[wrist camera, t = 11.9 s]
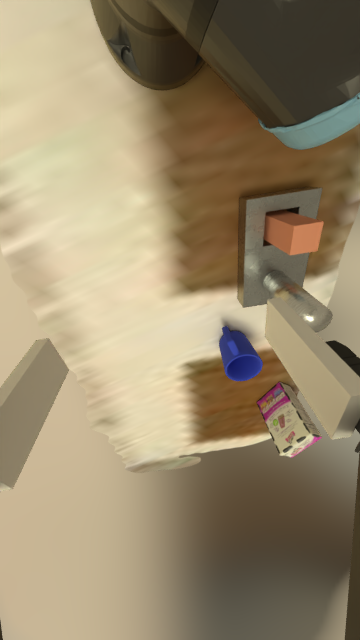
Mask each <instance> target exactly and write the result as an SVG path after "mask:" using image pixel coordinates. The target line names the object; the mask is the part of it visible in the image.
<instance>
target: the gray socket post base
mask: <svg viewBox="0 0 360 640" xmlns="http://www.w3.org/2000/svg"><path fill="white" fill-rule="evenodd" d="M321 192H322V188H318V187H303V188H297V189H291V190H285V191H279V192H273V193H266V194H260V195H254V196H248V197H242V198H239V234H238V298H237V299H238V300H239V302H240V304H241V305H242V307H243V308H244V307H250V306H257V305H263V304H267V301H268V299H273V298H279V297H281V298H282V299H283V300H284V301H285V302H286V303H287V304H288V305H289V306H290V307H291V308H292V309H293V310H294V311H295V312H296V313H297V314H298V315H299V316H300V317H301V318H302V319H303V320H304V321H305V322H306V323H307V324H308V325H309V326H310V327H311V328H312V329H313V330H314V331H315V332H319V331H321V330H323V329H324V328H326V327H327V326H328V324H329V323H330V322H331V320H332V312H331V311H330V310H329V309H328V308H327V307H325V306H324V305H323V304H322V303H320V302H319V301H318V300H317V299H315V298H314V297H313V296H312V295H310V294H309V293H308V292H307V291H305V290H304V289H303V288H302V287H303V282H304V277H305V272H306V267H307V262H308V257H309V252H308V253H302V254H295V255H288V254H287V253H285V252H284V251H282V250H280V249H279V248H277V247H275V246H274V245H272V244H271V243H269V242H267V241H266V240H263V238H264V225H265V213H266V212H269V211H276V210H282V209H287V211H288V212H292V213H295V214H299V215H302V216H306V217H309V218H313V219H316V217H317V212H318V207H319V202H320V197H321Z"/></svg>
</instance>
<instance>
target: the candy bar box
mask: <svg viewBox="0 0 360 640" xmlns="http://www.w3.org/2000/svg"><path fill="white" fill-rule="evenodd" d="M257 404H258V407H259V409H260V411H261V414H262V416H263V418H264V420H265V423H266V425H267V427H268V429H269V432H270V434H271V436H272V439H273V441H274V443H275V445H276V448H277V450H278V452H279V454H280V455H282V456H286V457H290V458H292V457H293V456H295V455H296V454H298V453H300V452H301V451H303V450H304V449H305V448H307V447H309V446H310V445H311V444H313V443H315V442H316V441H318V440H319V439H321V438H322V436H321V434H320V433H319V431H318V430H317V428H316V426H315V425H314V423H313V422H312V421H311V419H310V417H309V415H308V414H307V412H306V411H305V410H304V408H303V406H302V404H301V403H300V401H299V400H298V398H297V397H296V395H295V393H294V392H293V390H292V389H291V387H290V386H289V385H286V384H283V383H281V382H279V383H277V384H276V385H275V386H274V387H273V388H272V389H271V390H270V391H269V392H268V393H266V394H265V395H264V396H263V397H262V398H261V399H260V400H259V401H258V402H257Z"/></svg>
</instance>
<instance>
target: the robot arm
mask: <svg viewBox="0 0 360 640" xmlns="http://www.w3.org/2000/svg"><path fill="white" fill-rule="evenodd" d="M91 4H92V8H93V12H94V15H95V18H96V21H97V24H98V26H99V29H100V31H101V34H102V36H103V38H104V41H105V43H106V45H107V47H108V49H109V51H110V52H111V54H112V56H113V57H114V59H115V60H116V62H117V63H118V64H119V66H120V67H121V68H122V69H123V70H124V72H125V73H126V74H127V75H129V76H130V77H131V78H132V79H133V80H135V81H136V82H138V83H139V84H141V85H143V86H145V87H148V88H151V89H155V90H169V89H173V88H176V87H178V86H181V85H182V84H184V83H185V82H187V81H188V80H189V79H191V78H192V77H193V76H194V75H195V74H196V73H197V71H198V70H199V69H200V68H201V66H202V65H203V63H204V62H206V63H207V64H208V65H209V66H210V67H211V68H212V69H213V70H214V71H215V72H216V73H217V75H218V76H219V77H220V78H221V79H222V80H223V81H224V82H225V83H226V84H227V85H228V86H229V87H230V88H231V89H232V91H233V92H234V93H235V94H236V95H237V96H238V97H239V98H240V99H241V100H242V101H243V102H244V103H245V104H246V106H247V107H248V108H249V109H250V110H251V111H252V112H253V113H254V114H255V115H256V116H257V117H258V121H259V123H260V125H261V126H262V127H263V128H264V129H265V130H267V131H269V132H272V133H273V134H274V135H275V136H276V137H277V138H278V139H279V140H280V141H281V142H282V143H283V144H284V145H286V146H287V147H291V148H294V149H299V150H303V149H309V148H313V147H316V146H319V145H322V144H325V143H327V142H329V141H331V140H333V139H335V138H337V137H339V136H340V135H342V134H344V133H346V132H347V131H349V130H351V129H352V128H354V127H355V126H357V125H358V124H360V0H91ZM265 337H266V339H267V340H268V342H269V344H270V345H271V347H272V348H273V350H274V351H275V353H276V354H277V356H278V357H279V359H280V361H281V362H282V364H283V365H284V367H285V368H286V370H287V371H288V373H289V375H290V376H291V378H292V379H293V381H294V382H295V384H296V385H297V387H298V388H299V390H300V392H301V393H302V395H303V396H304V398H305V399H306V401H307V402H308V404H309V406H310V407H311V408H312V410H313V412H314V413H315V415H316V416H317V418H318V419H319V421H320V423H321V424H322V426H323V427H324V429H325V430H326V432H327V433H328V435H329V437H330V438H331V439H338V438H345V437H351V436H352V434H353V432H354V430H355V428H356V429H357V431H358V432H359V433H360V358H358V357H356V355H355V354H354V353H353V352H352V351H351V350H350V349H349V348H348V347H346V346H344V345H343V344H341V343H339V342H337V341H328V342H324V341H323V340H322V339H321V338H320V336H319V335H318V334H317V333H316V332H315V331H314V330H313V329H312V328H311V327H310V326H309V325H308V324H307V323H306V322H305V321H304V320H303V319H302V318H301V317H300V316H299V315H298V314H297V313H296V312H295V311H294V310H293V309H292V308H291V307H290V306H289V305H288V304H287V303H286V302H285V301H284V300H283V299H282V298H281V297H279V298H273V299H268V301H267V314H266V327H265ZM68 371H69V369H68V367H67V366H66V364H65V363H64V361H63V360H62V358H61V356H60V355H59V353H58V352H57V350H56V349H55V347H54V346H53V344H52V343H51V341H50V339H49V338H46V339H41V340H36V341H35V343H34V344H33V345H32V347H31V348H30V349H29V351H28V352H27V353H26V355H25V356H24V357H23V359H22V360H21V361H20V362H19V364H18V365H17V366H16V368H15V369H14V370H13V372H12V373H11V374H10V376H9V377H8V378H7V380H6V381H5V382H4V384H3V385H2V386H1V388H0V491H4V490H11V489H13V487H14V485H15V483H16V481H17V479H18V477H19V475H20V473H21V470H22V468H23V466H24V464H25V462H26V460H27V458H28V456H29V453H30V451H31V449H32V447H33V445H34V443H35V441H36V439H37V437H38V435H39V432H40V430H41V428H42V426H43V424H44V422H45V420H46V418H47V415H48V413H49V411H50V409H51V407H52V405H53V403H54V401H55V399H56V396H57V394H58V392H59V390H60V388H61V386H62V384H63V382H64V380H65V378H66V375H67V373H68ZM359 451H360V442H359V443H358V445H357V447H356V449H355V452H357V453H358V452H359ZM356 492H357V493H356V504H355V518H354V529H353V542H352V555H351V568H350V580H349V593H348V605H347V606H348V607H347V618H346V632H345V640H360V454H359V467H358V479H357V491H356ZM0 640H3V639H2V631H1V622H0Z"/></svg>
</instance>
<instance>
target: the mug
mask: <svg viewBox="0 0 360 640" xmlns="http://www.w3.org/2000/svg"><path fill="white" fill-rule="evenodd" d="M222 330H223V334H224V335H223V336H222V337H221V339H220V343H219V346H220V351H221V355H222V360H223V364H224V369H225V373H226V375H227V376H228V377H229V378H230V379H232V380H235V381H245V380H248V379H251V378H253V377H255V376H256V375H257V374H258V373H259V372H260V371H261V369H262V365H263V364H262V360H261V358H260V357H259V356H258V354H257V353H256V351H255V350H254V348H253V347H252V345H251V344H250V342H249V341H248V339H247V338H246V336H245V335H244V334H243V333H241V332H239V331H230V330H229V328H228V327H227V326H224V327H223V328H222Z"/></svg>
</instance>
